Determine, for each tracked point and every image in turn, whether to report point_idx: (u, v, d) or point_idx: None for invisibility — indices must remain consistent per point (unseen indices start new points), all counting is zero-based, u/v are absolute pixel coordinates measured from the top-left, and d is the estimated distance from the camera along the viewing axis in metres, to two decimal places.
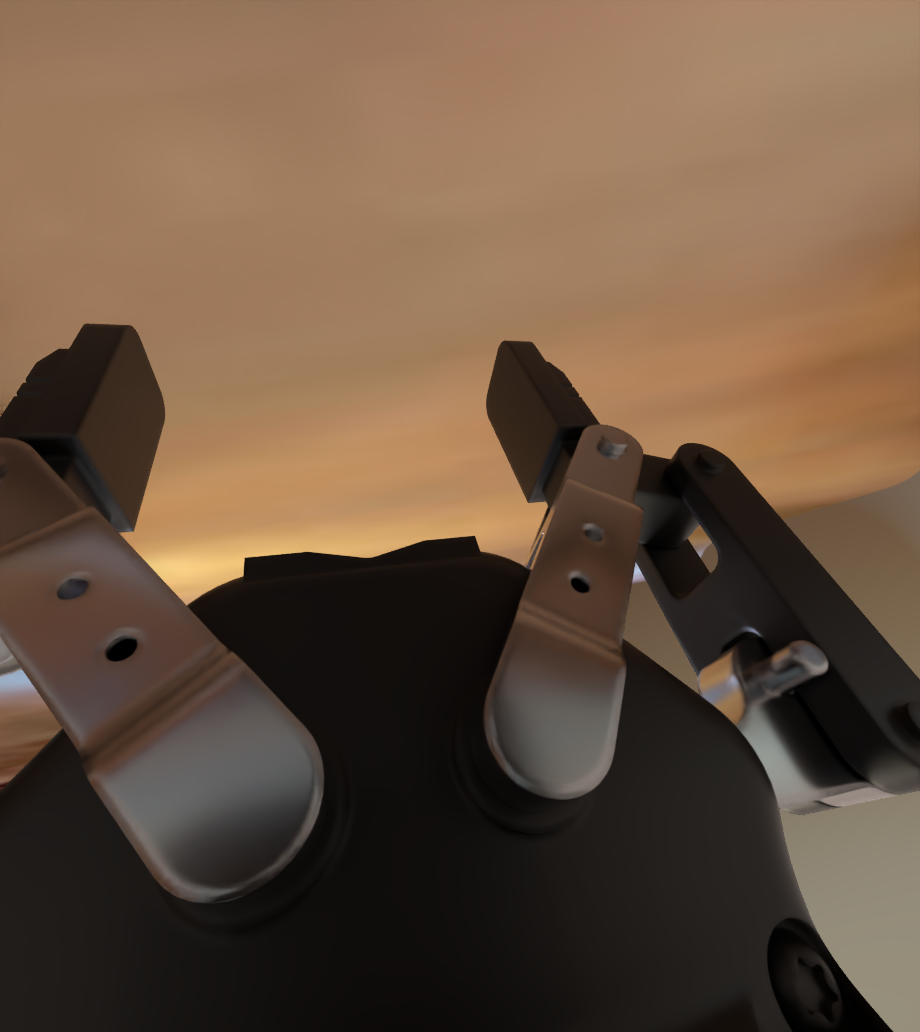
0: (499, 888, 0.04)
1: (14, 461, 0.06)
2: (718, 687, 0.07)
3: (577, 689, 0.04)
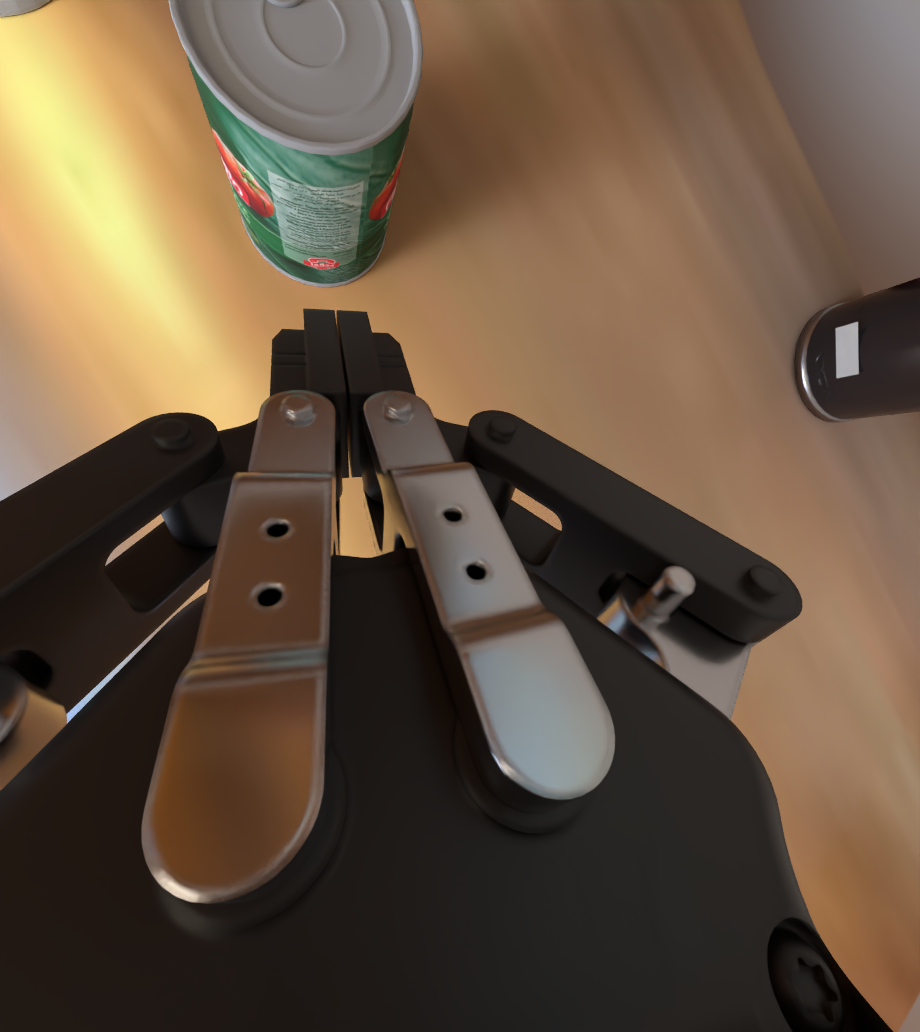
0: (499, 888, 0.04)
1: (319, 415, 0.07)
2: (624, 638, 0.07)
3: (547, 673, 0.04)
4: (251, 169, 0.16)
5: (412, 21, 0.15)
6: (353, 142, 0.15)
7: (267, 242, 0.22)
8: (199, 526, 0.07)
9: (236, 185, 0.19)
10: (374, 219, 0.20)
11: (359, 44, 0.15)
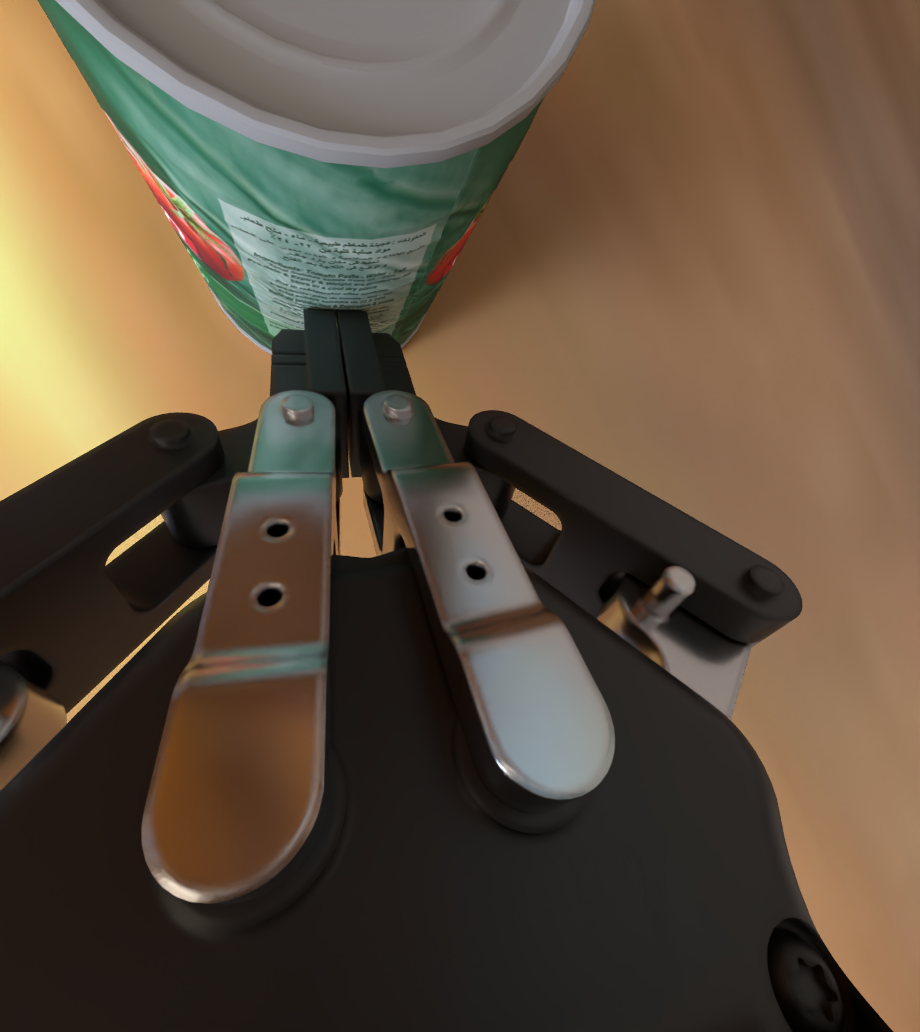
0: (499, 888, 0.04)
1: (318, 415, 0.07)
2: (624, 638, 0.07)
3: (547, 673, 0.04)
4: (184, 194, 0.07)
5: None
6: (437, 136, 0.06)
7: (239, 313, 0.13)
8: (199, 526, 0.07)
9: (171, 221, 0.10)
10: (433, 283, 0.11)
11: None
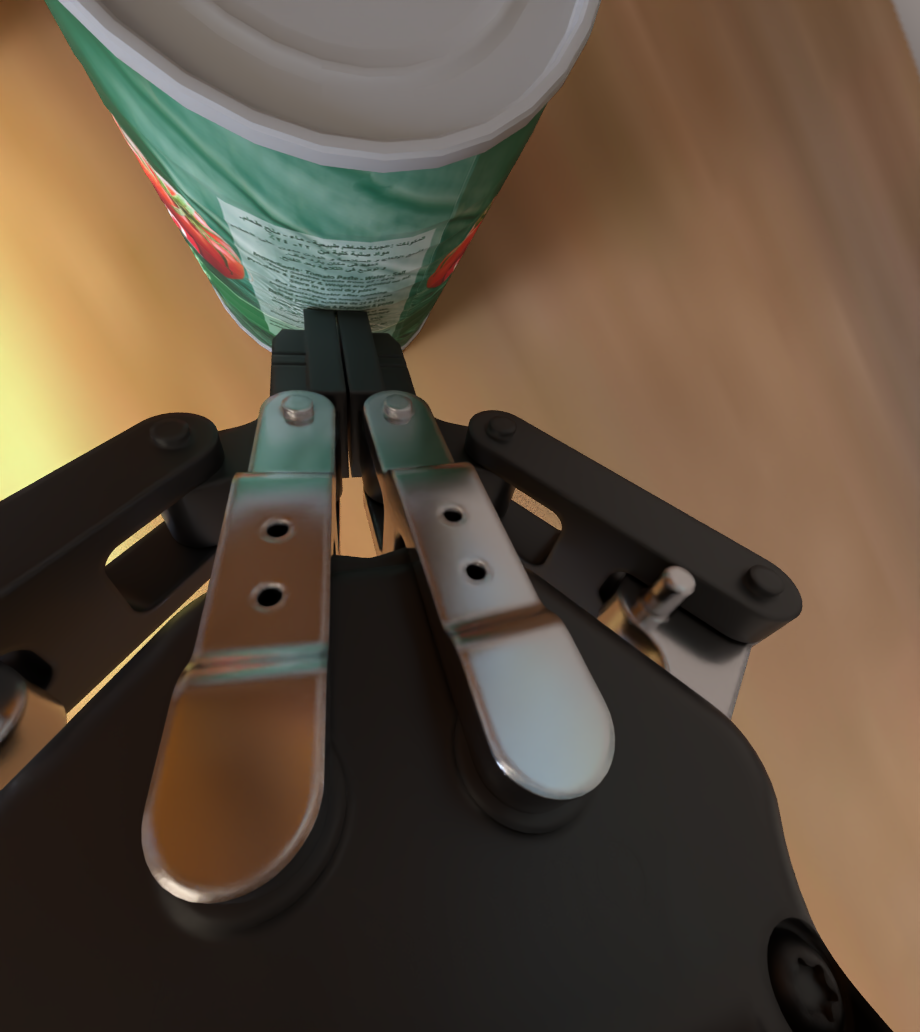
0: (499, 888, 0.04)
1: (319, 415, 0.07)
2: (624, 638, 0.07)
3: (547, 673, 0.04)
4: (184, 192, 0.07)
5: None
6: (435, 142, 0.06)
7: (240, 310, 0.13)
8: (199, 526, 0.07)
9: (174, 218, 0.10)
10: (434, 286, 0.11)
11: None
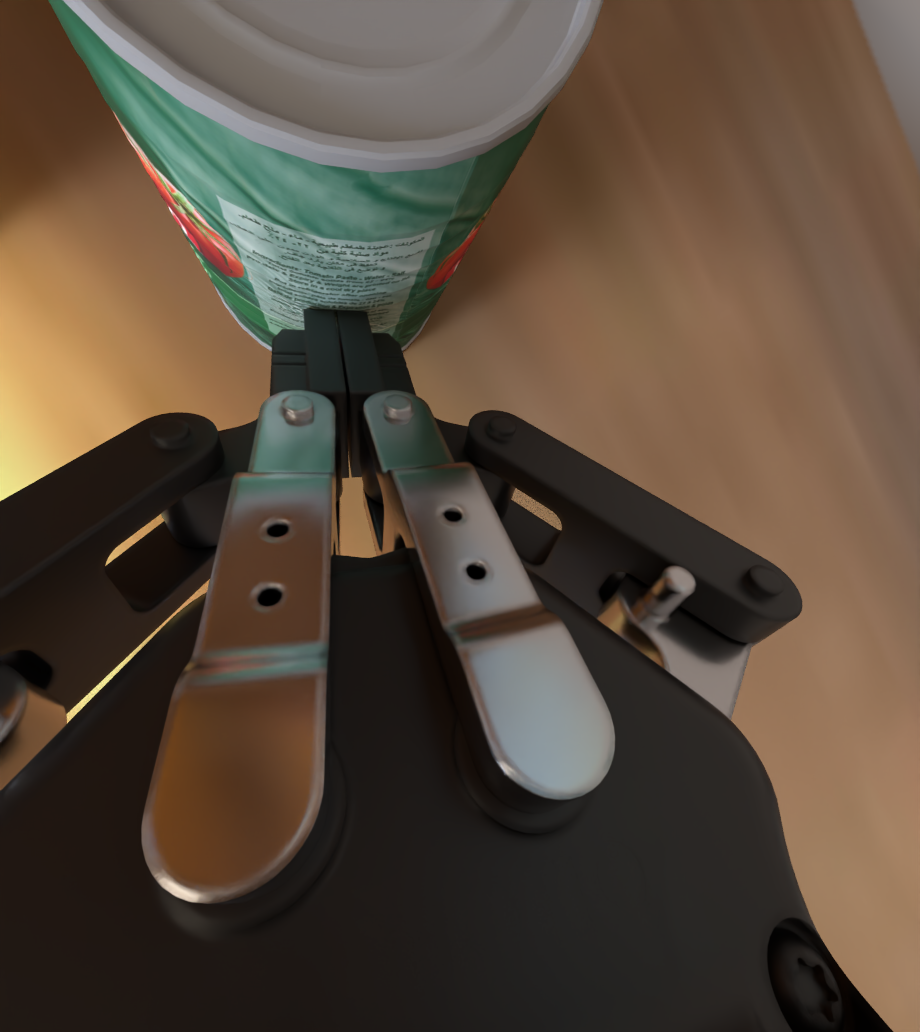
0: (499, 888, 0.04)
1: (319, 416, 0.07)
2: (624, 639, 0.07)
3: (547, 673, 0.04)
4: (184, 189, 0.07)
5: None
6: (434, 142, 0.06)
7: (240, 309, 0.13)
8: (199, 526, 0.07)
9: (174, 215, 0.10)
10: (434, 287, 0.11)
11: None
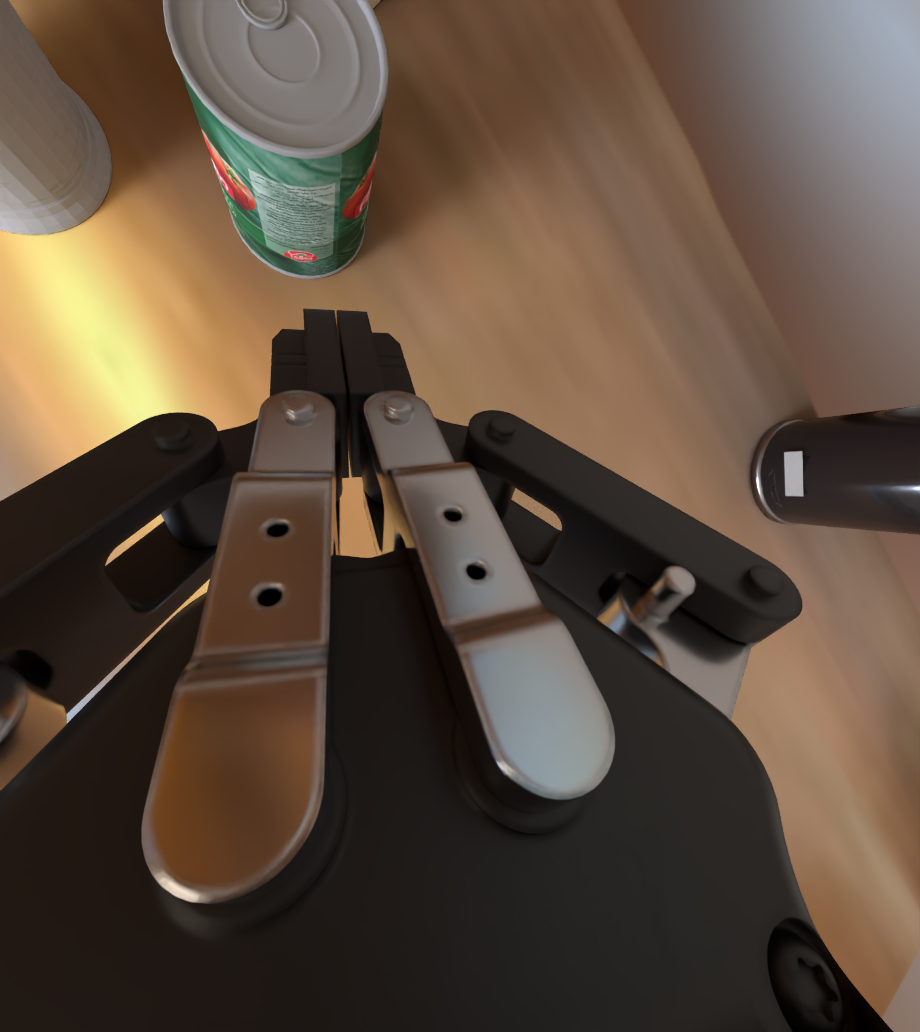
0: (499, 888, 0.04)
1: (319, 415, 0.07)
2: (624, 638, 0.07)
3: (547, 673, 0.04)
4: (234, 166, 0.19)
5: (380, 48, 0.17)
6: (323, 148, 0.17)
7: (251, 234, 0.24)
8: (199, 526, 0.07)
9: (222, 180, 0.21)
10: (348, 218, 0.23)
11: (333, 65, 0.17)
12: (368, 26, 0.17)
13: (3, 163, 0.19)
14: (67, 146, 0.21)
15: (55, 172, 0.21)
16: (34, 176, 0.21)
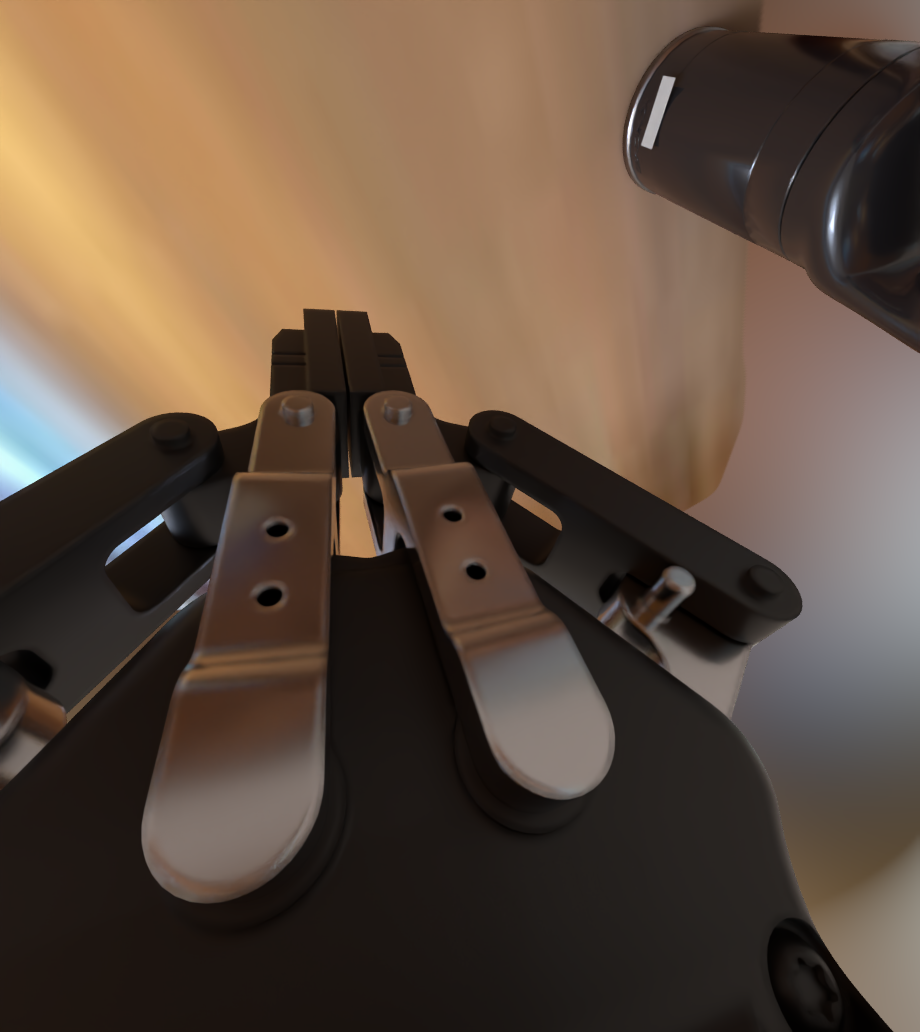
0: (499, 888, 0.04)
1: (319, 415, 0.07)
2: (624, 638, 0.07)
3: (547, 673, 0.04)
4: None
5: None
6: None
7: None
8: (199, 526, 0.07)
9: None
10: None
11: None
12: None
13: None
14: None
15: None
16: None
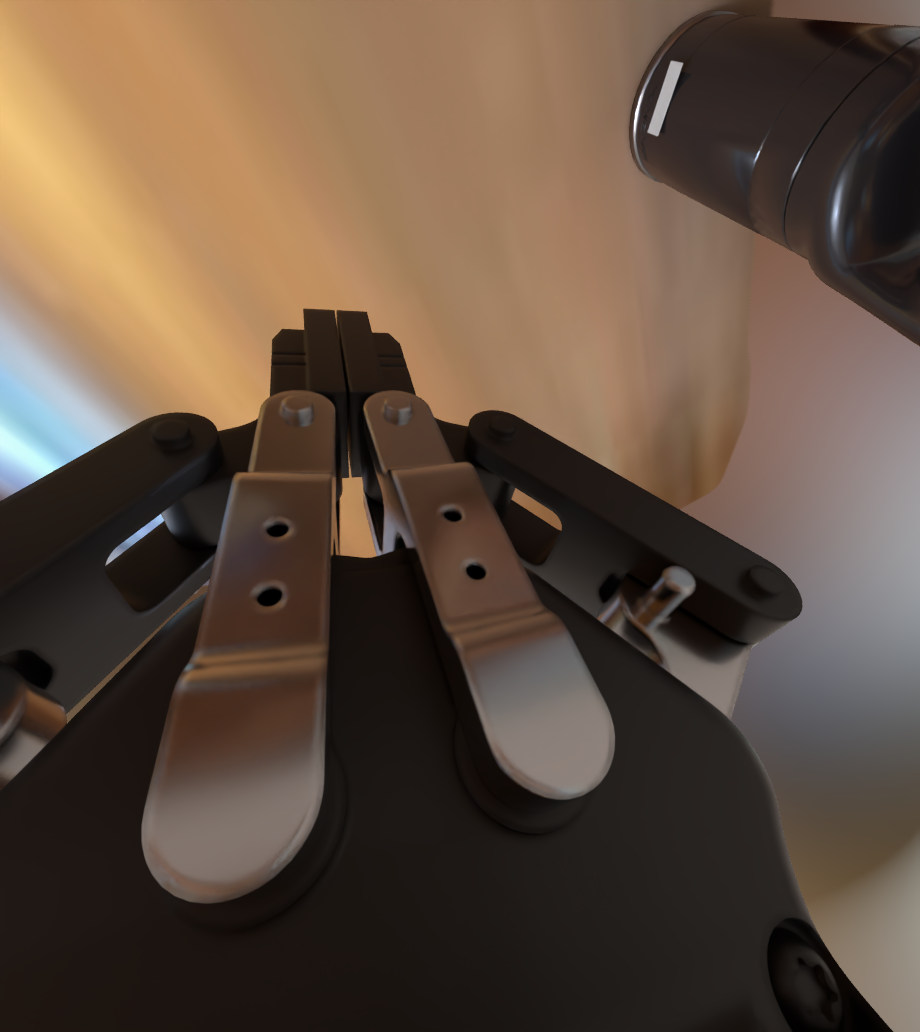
0: (499, 888, 0.04)
1: (319, 415, 0.07)
2: (624, 638, 0.07)
3: (547, 673, 0.04)
4: None
5: None
6: None
7: None
8: (199, 526, 0.07)
9: None
10: None
11: None
12: None
13: None
14: None
15: None
16: None
